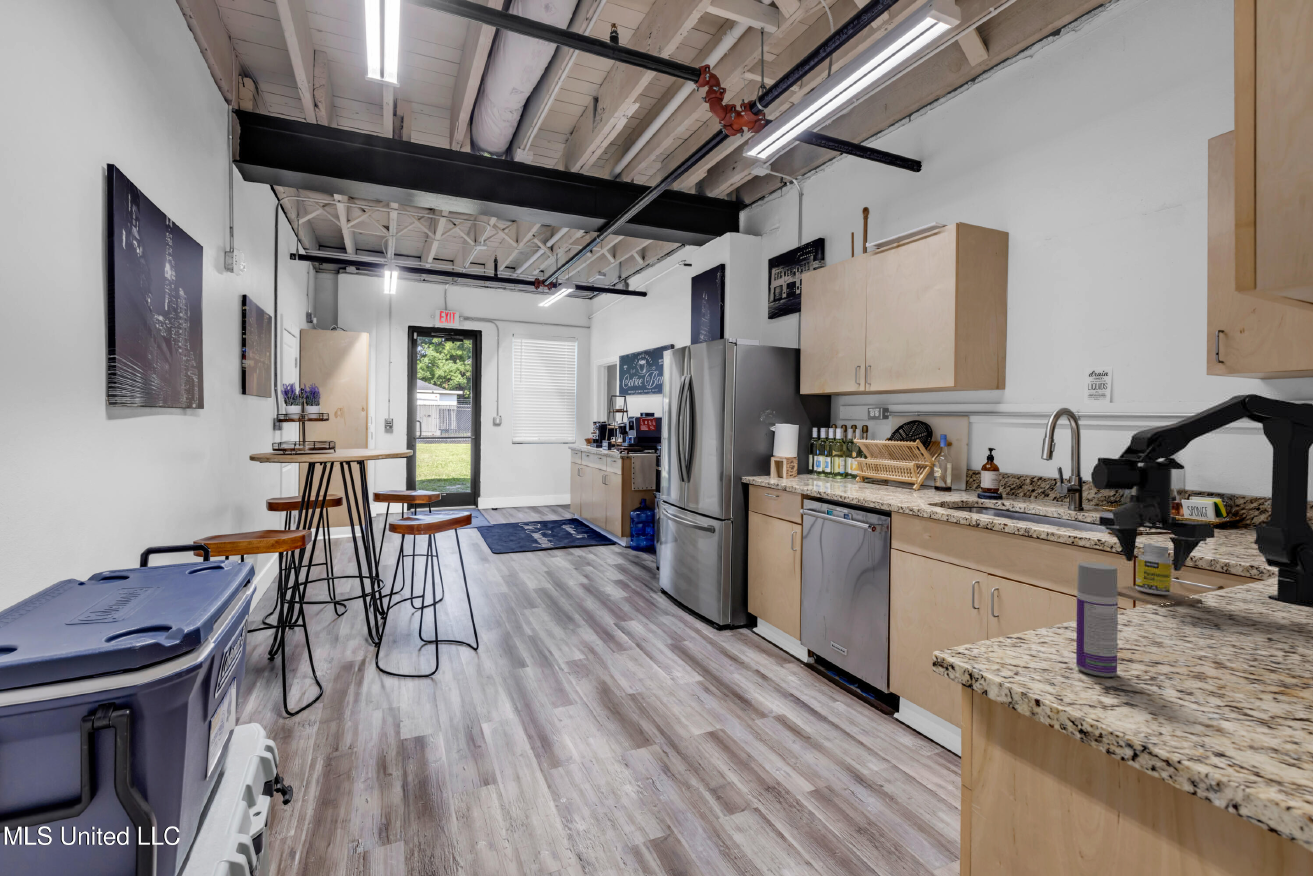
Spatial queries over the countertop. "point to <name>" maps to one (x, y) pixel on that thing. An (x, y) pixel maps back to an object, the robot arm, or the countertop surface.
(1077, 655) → the container
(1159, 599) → the riser
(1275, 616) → the countertop surface
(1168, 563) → the supplement bottle
